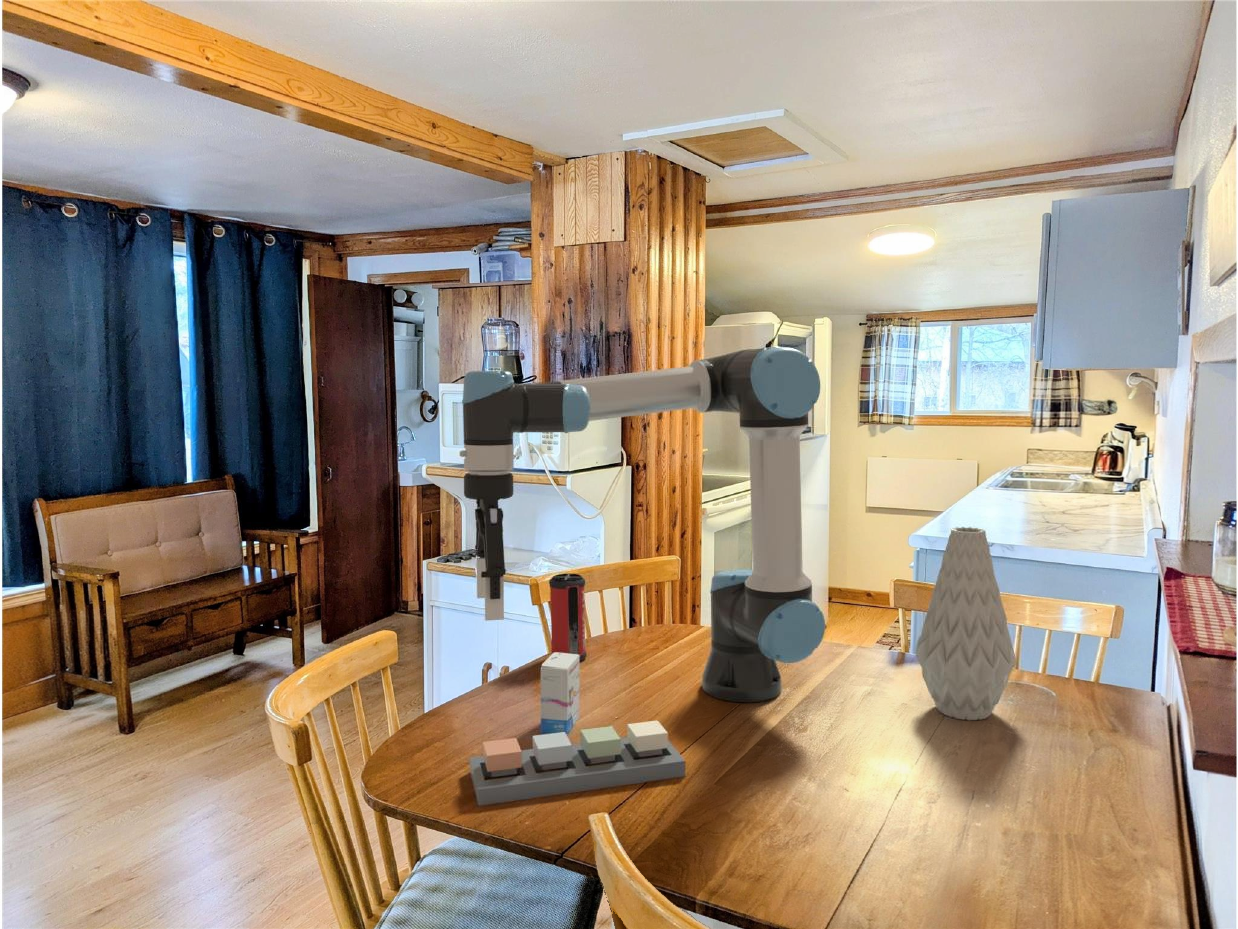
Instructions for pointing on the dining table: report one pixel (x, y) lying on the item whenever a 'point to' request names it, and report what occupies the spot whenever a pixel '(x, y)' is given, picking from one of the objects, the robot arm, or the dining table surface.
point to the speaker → (568, 614)
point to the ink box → (559, 693)
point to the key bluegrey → (552, 750)
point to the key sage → (601, 744)
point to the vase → (966, 631)
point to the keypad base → (574, 774)
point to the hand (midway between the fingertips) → (489, 608)
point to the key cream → (647, 738)
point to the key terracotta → (502, 756)
